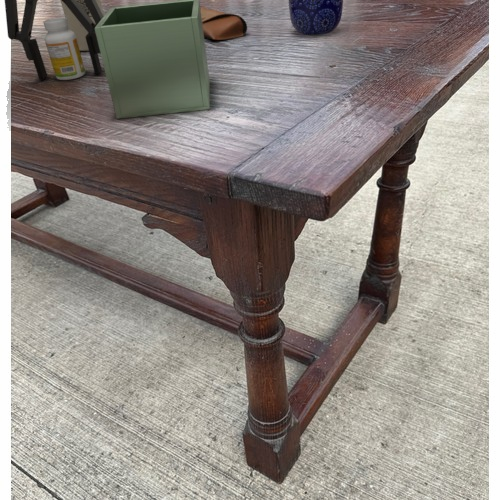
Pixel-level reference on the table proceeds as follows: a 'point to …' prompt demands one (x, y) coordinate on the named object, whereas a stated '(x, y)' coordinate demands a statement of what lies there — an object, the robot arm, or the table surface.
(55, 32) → the supplement bottle
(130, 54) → the bin
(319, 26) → the planter
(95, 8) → the robot arm
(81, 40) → the travel mug
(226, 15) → the sunglasses case
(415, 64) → the table surface
